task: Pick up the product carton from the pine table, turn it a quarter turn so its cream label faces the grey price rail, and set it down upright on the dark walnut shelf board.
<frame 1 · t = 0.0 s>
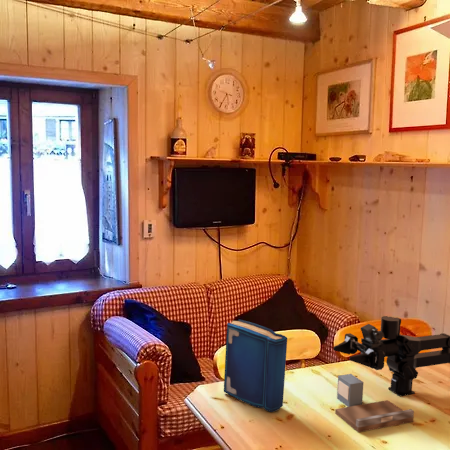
hand: (341, 353, 169), 17 cm above the table, tool horizontal, fingers open, 9 cm apart
carton: (349, 402, 171), on the table
shelf board: (373, 417, 160), on the table
book: (253, 402, 169), on the table
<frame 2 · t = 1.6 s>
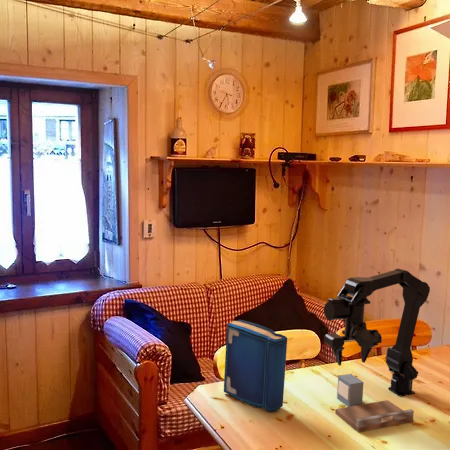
hand: (351, 363, 169), 13 cm above the table, tool pointing down, fingers open, 9 cm apart
nothing on the table moved.
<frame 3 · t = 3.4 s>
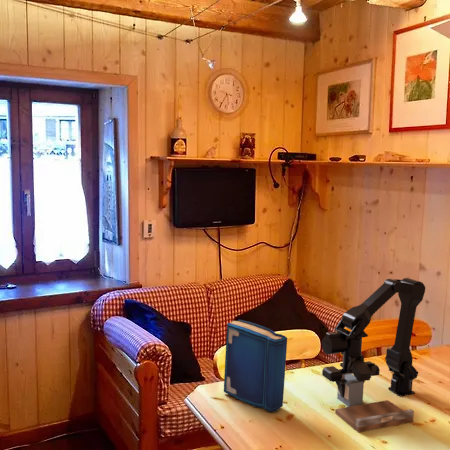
hand: (349, 396, 171), 2 cm above the table, tool pointing down, fingers closed on carton, 5 cm apart
carton: (349, 401, 171), on the table, touching gripper
everything else where it was.
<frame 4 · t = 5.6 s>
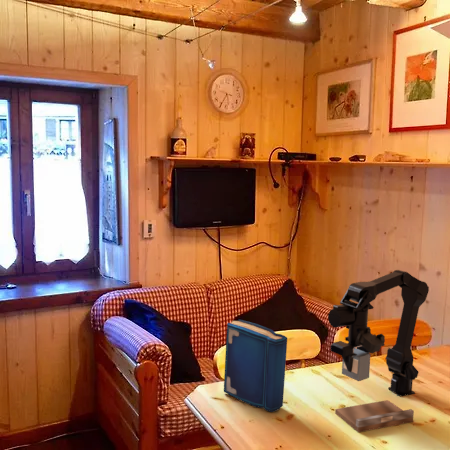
hand: (355, 369, 168), 12 cm above the table, tool pointing down, fingers closed on carton, 5 cm apart
carton: (355, 375, 168), point 10 cm above the table, touching gripper
everything else where it was.
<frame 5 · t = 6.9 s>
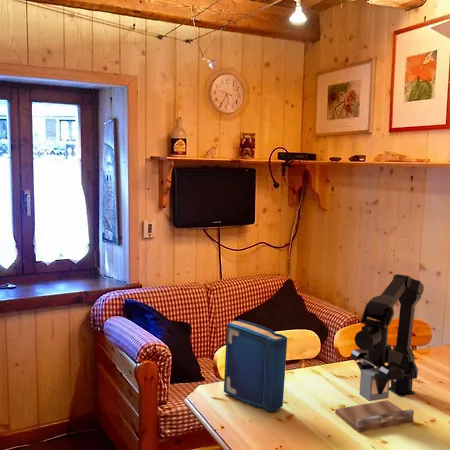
hand: (374, 390, 160), 9 cm above the table, tool pointing down, fingers closed on carton, 5 cm apart
carton: (373, 396, 160), point 7 cm above the table, touching gripper
everything else where it was.
when the fingers open (4 cm above the table, at t = 8.0 s): carton stays where it is, resting on shelf board.
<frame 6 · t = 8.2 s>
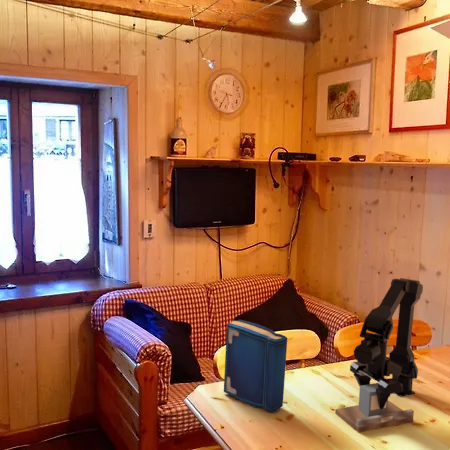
hand: (373, 403, 160), 4 cm above the table, tool pointing down, fingers open, 7 cm apart
carton: (372, 412, 161), point 1 cm above the table, touching shelf board
everything else where it was.
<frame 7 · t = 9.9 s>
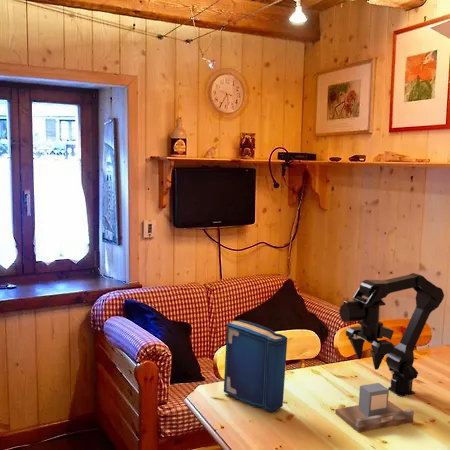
hand: (367, 364, 173), 12 cm above the table, tool pointing down, fingers open, 9 cm apart
nothing on the table moved.
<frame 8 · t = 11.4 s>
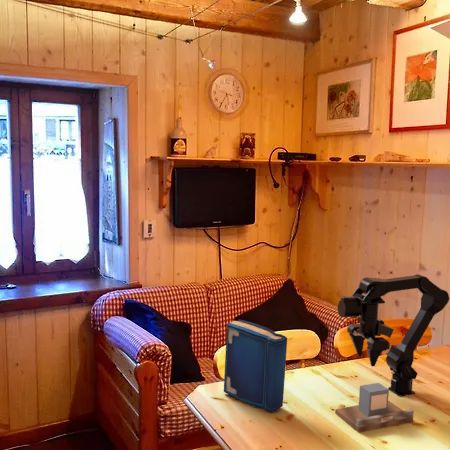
hand: (366, 360, 175), 12 cm above the table, tool pointing down, fingers open, 9 cm apart
nothing on the table moved.
at the end: carton inside the target area on the shelf board (0.1 cm from its centre), point 1.5 cm above the shelf board's base; carton tilted 0°; the gripper is holding nothing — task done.
